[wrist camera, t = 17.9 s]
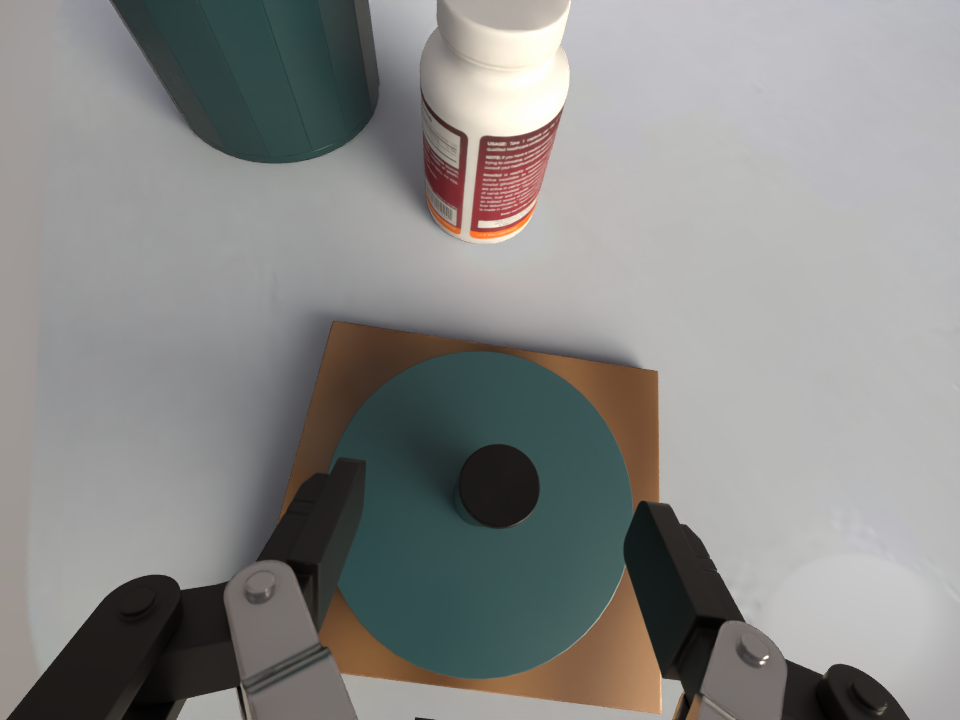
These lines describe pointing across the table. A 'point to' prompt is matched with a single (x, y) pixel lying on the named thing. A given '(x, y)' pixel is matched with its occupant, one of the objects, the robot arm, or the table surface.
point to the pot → (262, 70)
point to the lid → (483, 515)
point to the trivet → (634, 423)
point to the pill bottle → (491, 112)
